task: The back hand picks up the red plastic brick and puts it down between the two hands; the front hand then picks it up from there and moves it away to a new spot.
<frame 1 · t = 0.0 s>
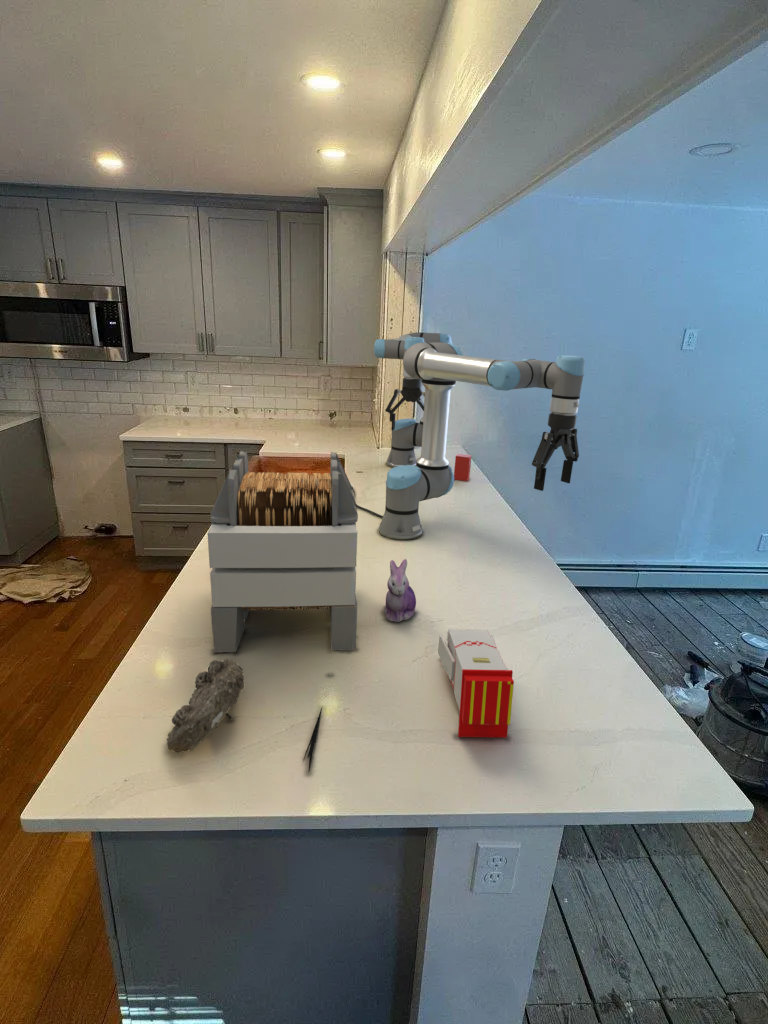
front hand: (552, 485, 166), 28 cm above the counter, tool pointing down, fingers open, 13 cm apart
back hand: (409, 431, 230), 28 cm above the counter, tool pointing down, fingers open, 13 cm apart
feather: (319, 719, 109), on the counter
toy: (469, 691, 119), on the counter
grey record crate stand: (288, 615, 144), on the counter
figurine: (399, 614, 147), on the counter
brick: (461, 479, 269), on the counter
fossil: (212, 717, 108), on the counter
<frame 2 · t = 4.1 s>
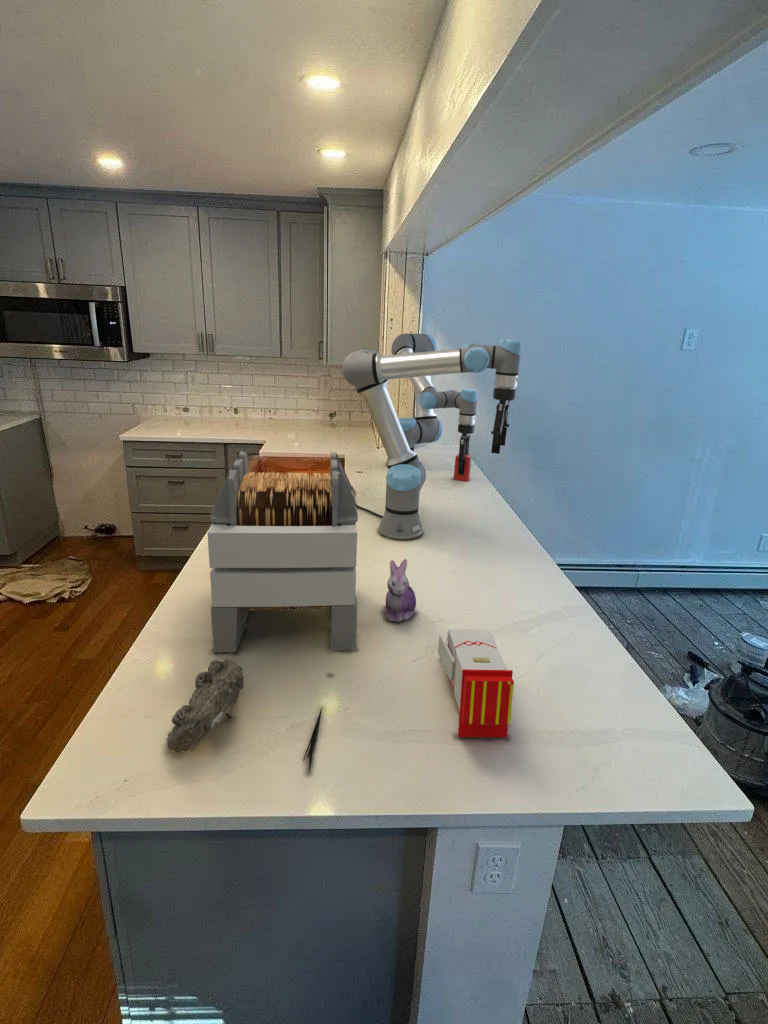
front hand: (498, 449, 199), 30 cm above the counter, tool pointing down, fingers open, 13 cm apart
back hand: (462, 472, 267), 3 cm above the counter, tool pointing down, fingers closed on brick, 5 cm apart
brick: (461, 479, 269), on the counter, touching back hand
everything else where it was.
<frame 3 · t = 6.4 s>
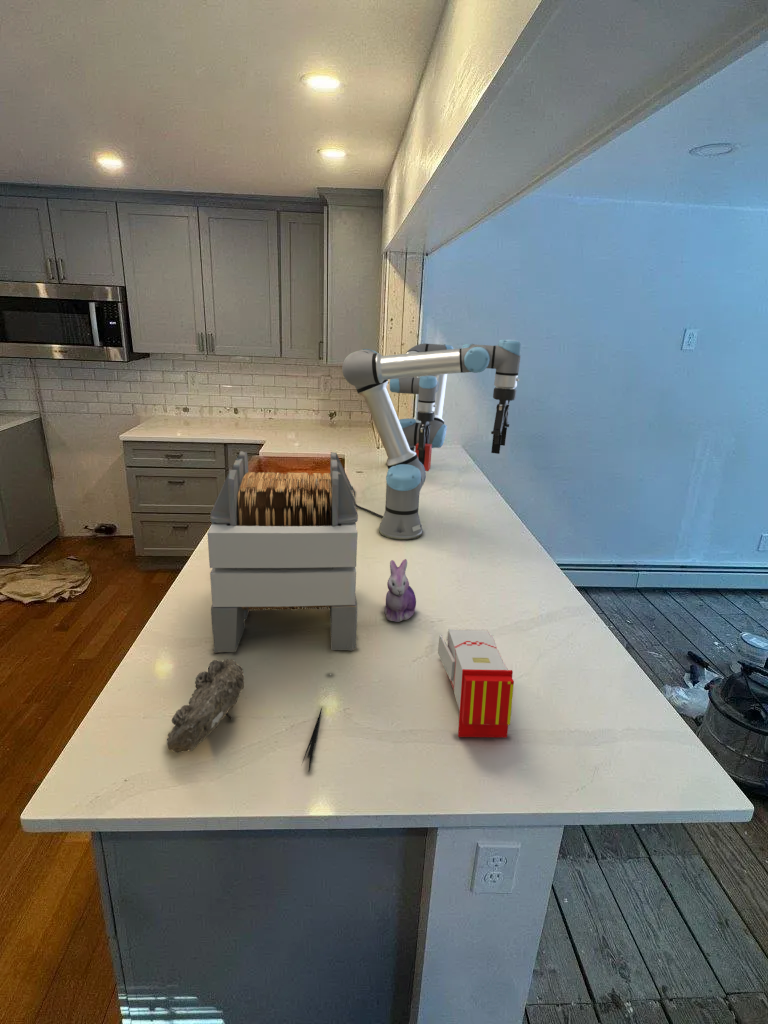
front hand: (498, 449, 199), 30 cm above the counter, tool pointing down, fingers open, 13 cm apart
back hand: (422, 462, 259), 9 cm above the counter, tool pointing down, fingers closed on brick, 5 cm apart
brick: (422, 469, 260), point 6 cm above the counter, touching back hand
everything else where it was.
when the back hand's fingers open (4 cm above the counter, at t = 9.0 s): brick drops 1 cm, on the counter.
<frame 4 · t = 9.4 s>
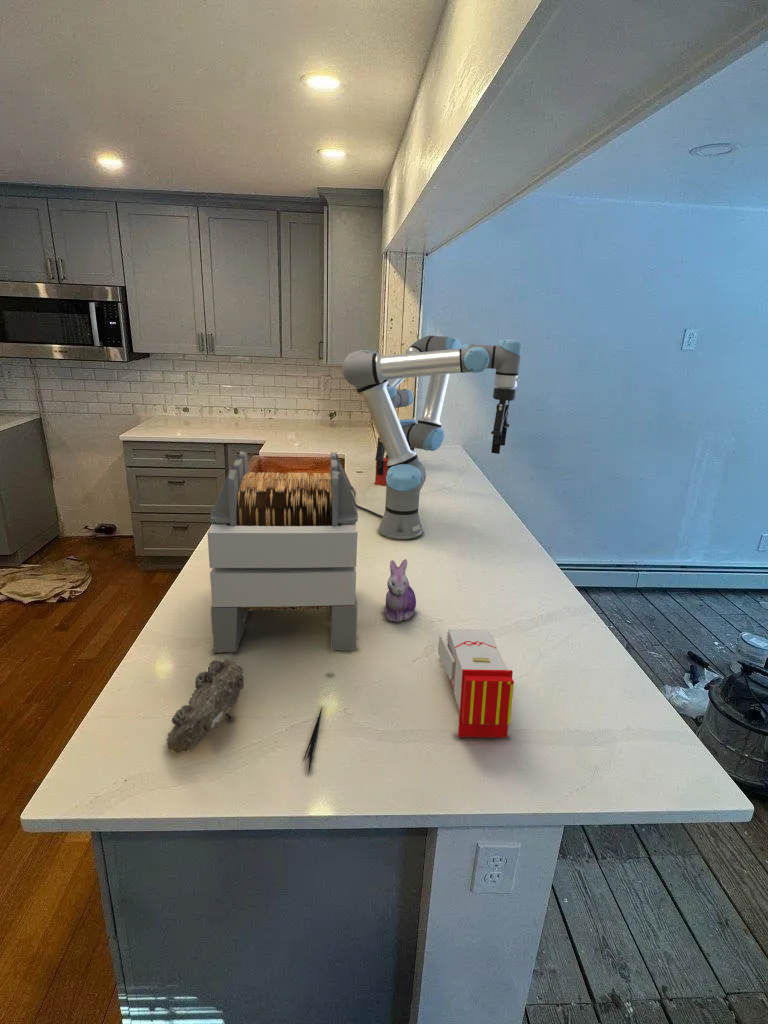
front hand: (498, 449, 199), 30 cm above the counter, tool pointing down, fingers open, 13 cm apart
back hand: (384, 471, 254), 6 cm above the counter, tool pointing down, fingers open, 10 cm apart
brick: (383, 483, 256), on the counter
everything else where it was.
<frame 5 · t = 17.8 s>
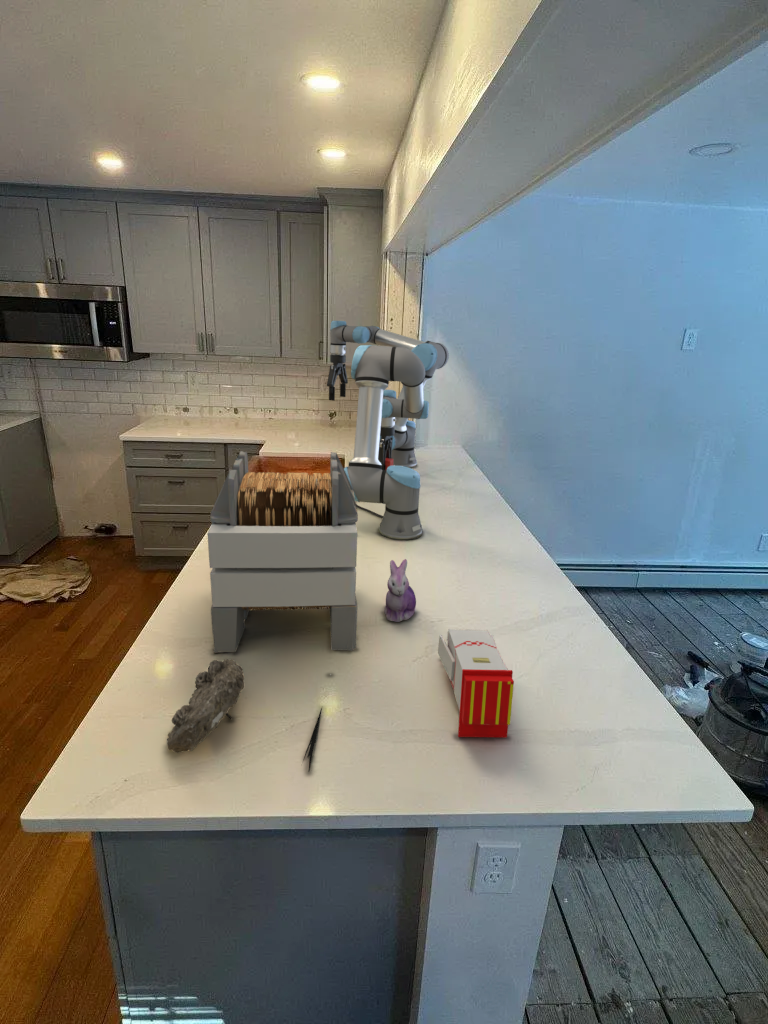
front hand: (383, 477, 255), 3 cm above the counter, tool pointing down, fingers closed on brick, 5 cm apart
back hand: (337, 398, 281), 31 cm above the counter, tool pointing down, fingers open, 13 cm apart
brick: (383, 483, 256), on the counter, touching front hand
everything else where it was.
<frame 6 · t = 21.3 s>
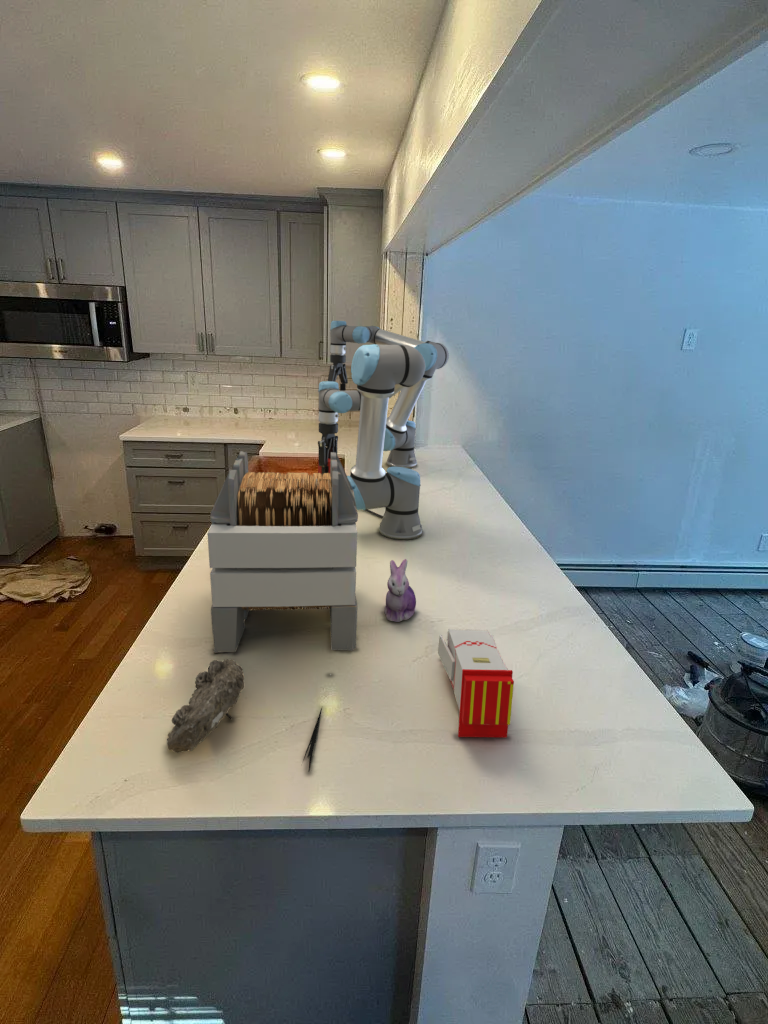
front hand: (327, 480, 227), 9 cm above the counter, tool pointing down, fingers closed on brick, 5 cm apart
back hand: (337, 398, 281), 31 cm above the counter, tool pointing down, fingers open, 13 cm apart
brick: (327, 487, 228), point 6 cm above the counter, touching front hand
everything else where it was.
when the front hand's fingers open (4 cm above the counter, at t = 25.0 s): brick drops 1 cm, on the counter.
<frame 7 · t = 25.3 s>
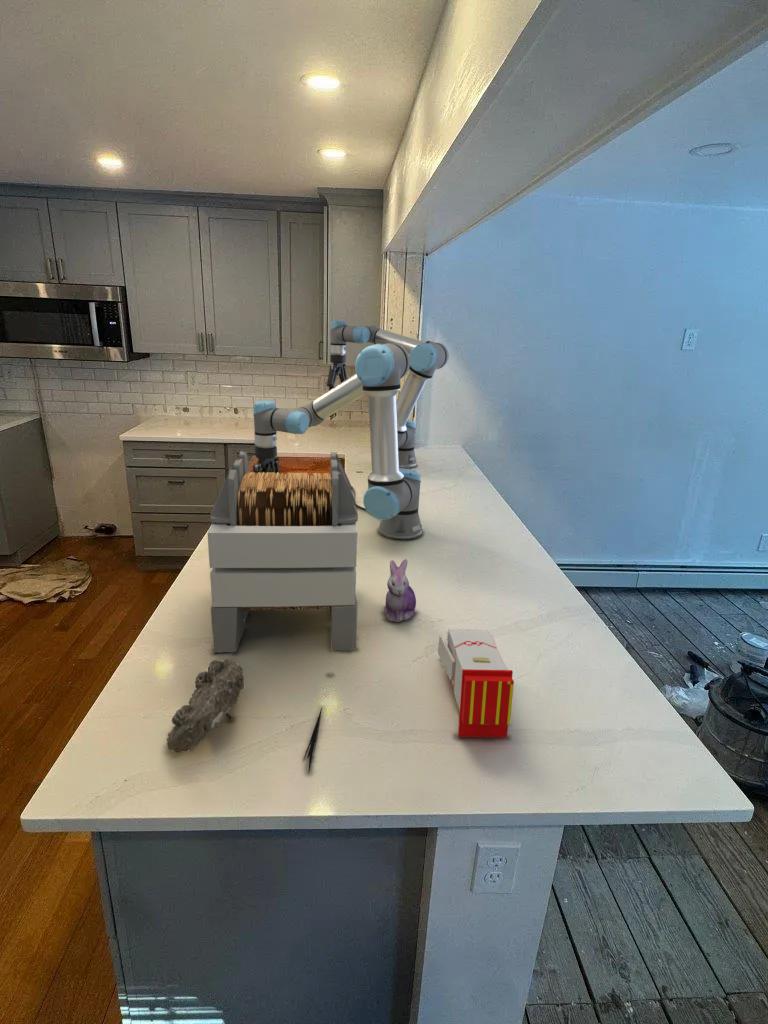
front hand: (267, 506, 206), 5 cm above the counter, tool pointing down, fingers open, 9 cm apart
back hand: (337, 398, 281), 31 cm above the counter, tool pointing down, fingers open, 13 cm apart
brick: (267, 519, 207), on the counter
everything else where it was.
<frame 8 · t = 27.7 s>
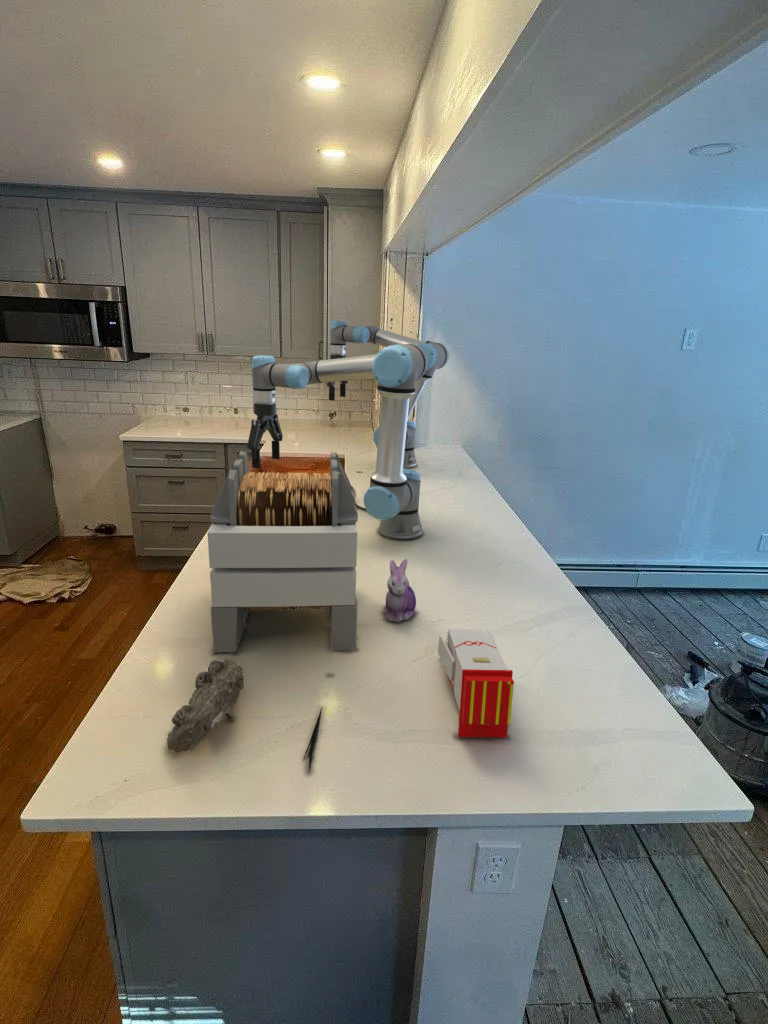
front hand: (266, 463, 200), 21 cm above the counter, tool pointing down, fingers open, 13 cm apart
back hand: (337, 398, 281), 31 cm above the counter, tool pointing down, fingers open, 13 cm apart
nothing on the counter moved.
at the end: brick inside the target area (0.0 cm from its centre), on the counter; brick tilted 0°; the two hands never held the brick at the same time; the front hand is holding nothing; the back hand is holding nothing; brick at rest at the end (0.0 cm/s) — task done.
